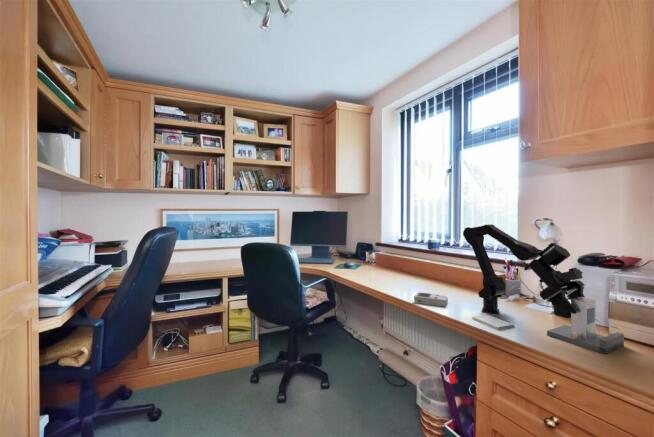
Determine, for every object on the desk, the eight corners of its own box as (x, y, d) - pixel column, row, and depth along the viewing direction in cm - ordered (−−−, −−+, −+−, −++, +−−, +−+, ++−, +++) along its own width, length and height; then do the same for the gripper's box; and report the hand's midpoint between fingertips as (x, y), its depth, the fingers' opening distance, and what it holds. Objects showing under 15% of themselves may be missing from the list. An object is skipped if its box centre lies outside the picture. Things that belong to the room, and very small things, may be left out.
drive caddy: (571, 335, 97) (570, 299, 97) (581, 332, 100) (580, 296, 100) (586, 340, 93) (585, 302, 93) (596, 336, 96) (595, 299, 96)
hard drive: (514, 324, 108) (487, 314, 120) (498, 327, 106) (472, 316, 118) (514, 328, 108) (487, 317, 120) (498, 331, 106) (472, 320, 118)
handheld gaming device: (445, 307, 133) (445, 299, 133) (414, 303, 141) (414, 295, 141) (448, 303, 141) (448, 295, 141) (417, 299, 148) (417, 291, 148)
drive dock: (547, 334, 101) (547, 323, 101) (565, 328, 106) (565, 318, 106) (606, 354, 87) (606, 341, 87) (623, 346, 92) (623, 333, 92)
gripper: (549, 262, 97) (590, 303, 87) (577, 258, 105) (618, 295, 95) (525, 280, 104) (560, 320, 95) (553, 275, 112) (588, 311, 102)
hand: (582, 311), depth 97 cm, fingers open, 9 cm apart
